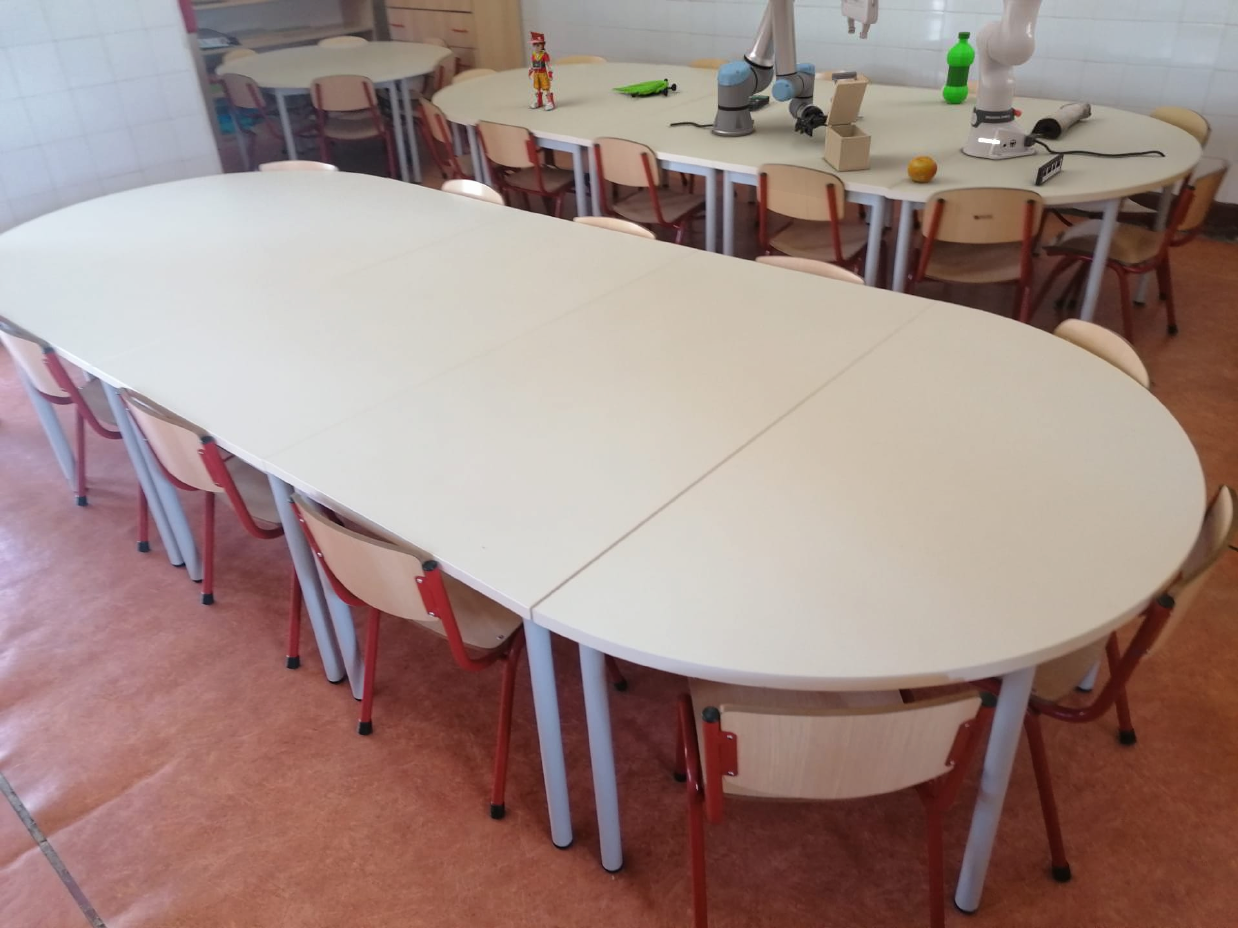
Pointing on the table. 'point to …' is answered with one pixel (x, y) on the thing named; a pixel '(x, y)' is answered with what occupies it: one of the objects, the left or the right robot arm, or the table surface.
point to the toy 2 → (648, 88)
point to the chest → (847, 147)
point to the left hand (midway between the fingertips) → (830, 131)
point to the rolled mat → (1061, 119)
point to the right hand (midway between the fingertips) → (857, 36)
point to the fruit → (922, 169)
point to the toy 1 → (541, 71)
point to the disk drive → (757, 101)
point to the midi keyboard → (1049, 169)
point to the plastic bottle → (958, 69)
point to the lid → (846, 99)
